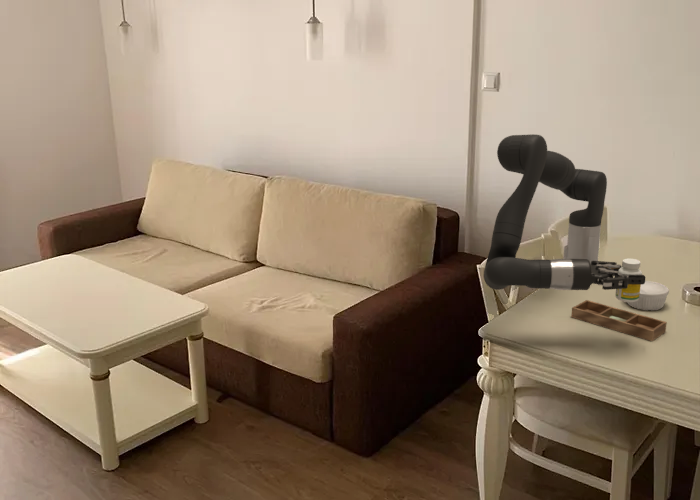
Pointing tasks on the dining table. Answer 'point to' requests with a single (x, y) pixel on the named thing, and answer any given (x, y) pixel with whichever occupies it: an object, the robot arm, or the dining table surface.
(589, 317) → the wooden compartment tray
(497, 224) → the robot arm
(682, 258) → the dining table surface
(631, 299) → the supplement bottle
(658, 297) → the ramekin
